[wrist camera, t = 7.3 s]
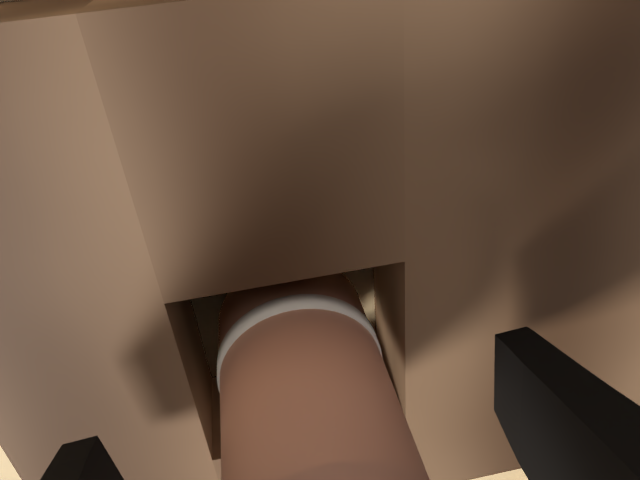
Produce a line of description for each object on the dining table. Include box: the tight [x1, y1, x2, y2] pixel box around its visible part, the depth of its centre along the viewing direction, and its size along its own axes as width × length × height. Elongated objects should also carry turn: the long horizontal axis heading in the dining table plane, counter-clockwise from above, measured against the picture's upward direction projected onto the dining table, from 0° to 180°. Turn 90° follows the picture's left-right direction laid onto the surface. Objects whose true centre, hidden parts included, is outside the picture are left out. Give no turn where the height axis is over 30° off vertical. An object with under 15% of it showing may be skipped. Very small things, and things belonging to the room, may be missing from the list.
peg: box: [217, 273, 430, 480], centre depth 10 cm, size 3×3×6 cm
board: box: [0, 0, 640, 480], centre depth 12 cm, size 16×12×2 cm
